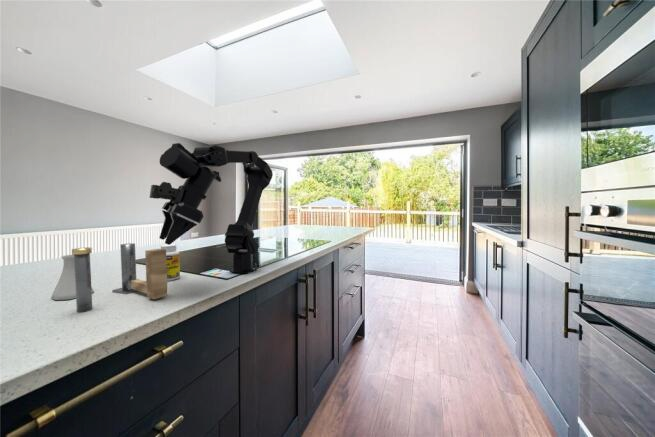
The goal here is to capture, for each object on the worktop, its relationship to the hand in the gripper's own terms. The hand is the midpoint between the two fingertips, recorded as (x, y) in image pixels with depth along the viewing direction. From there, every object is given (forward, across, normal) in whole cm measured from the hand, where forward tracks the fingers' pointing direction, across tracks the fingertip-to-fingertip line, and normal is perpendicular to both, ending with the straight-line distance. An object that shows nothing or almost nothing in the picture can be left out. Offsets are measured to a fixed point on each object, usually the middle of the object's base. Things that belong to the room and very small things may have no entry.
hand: (164, 241), depth 64 cm
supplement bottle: (+11, -14, +9) cm, 19 cm away
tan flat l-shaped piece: (+13, 0, +3) cm, 13 cm away
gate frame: (+17, -4, -3) cm, 17 cm away
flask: (+20, -12, -9) cm, 25 cm away
